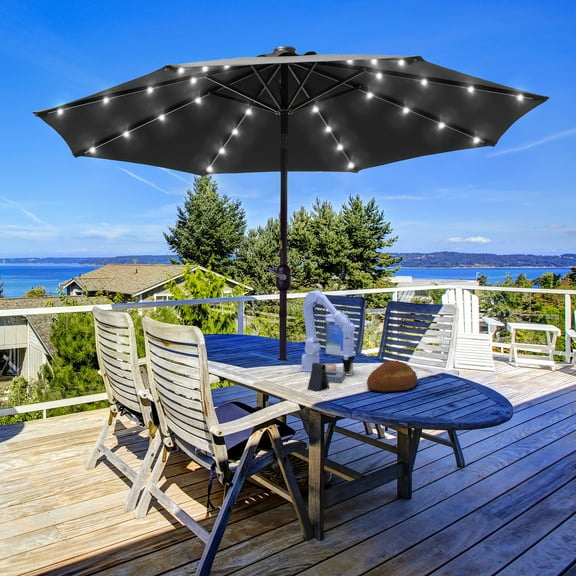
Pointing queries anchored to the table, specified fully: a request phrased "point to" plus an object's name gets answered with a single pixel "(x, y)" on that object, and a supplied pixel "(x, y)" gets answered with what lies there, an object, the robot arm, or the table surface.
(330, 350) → the string lights box
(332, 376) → the socket block
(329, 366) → the round peg
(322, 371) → the phone stand
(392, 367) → the bread
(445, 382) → the table surface
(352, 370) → the square peg
